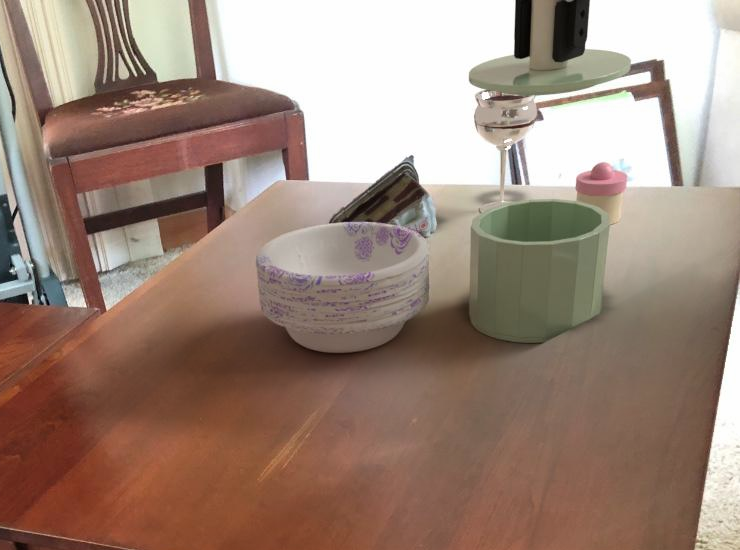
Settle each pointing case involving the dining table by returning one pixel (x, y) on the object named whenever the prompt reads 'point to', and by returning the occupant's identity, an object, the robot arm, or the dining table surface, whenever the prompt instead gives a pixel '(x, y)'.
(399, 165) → the chocolate cake
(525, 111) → the wineglass
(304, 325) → the paper bowls
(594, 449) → the dining table surface
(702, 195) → the dining table surface
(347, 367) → the dining table surface
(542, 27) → the lid
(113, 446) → the dining table surface
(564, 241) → the pot
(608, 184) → the cupcake
